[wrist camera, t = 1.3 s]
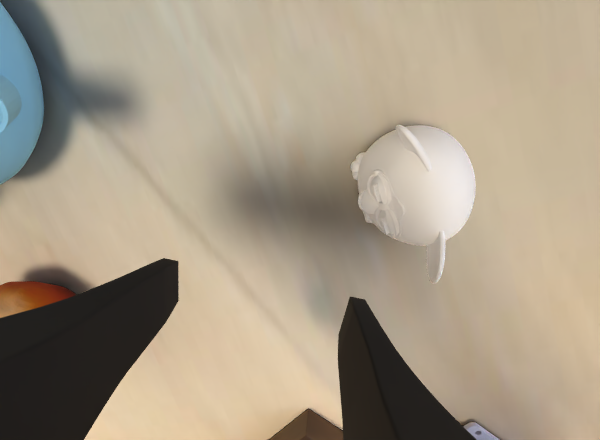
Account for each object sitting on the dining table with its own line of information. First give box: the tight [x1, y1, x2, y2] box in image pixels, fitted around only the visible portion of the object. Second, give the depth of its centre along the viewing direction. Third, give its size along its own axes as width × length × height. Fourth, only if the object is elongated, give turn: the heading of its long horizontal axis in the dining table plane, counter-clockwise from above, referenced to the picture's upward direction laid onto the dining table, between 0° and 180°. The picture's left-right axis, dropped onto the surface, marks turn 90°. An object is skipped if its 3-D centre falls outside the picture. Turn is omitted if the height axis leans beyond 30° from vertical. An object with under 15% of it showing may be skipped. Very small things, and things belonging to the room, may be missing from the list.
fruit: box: [0, 281, 76, 318], centre depth 24 cm, size 8×8×8 cm
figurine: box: [350, 125, 476, 283], centre depth 15 cm, size 8×6×7 cm
